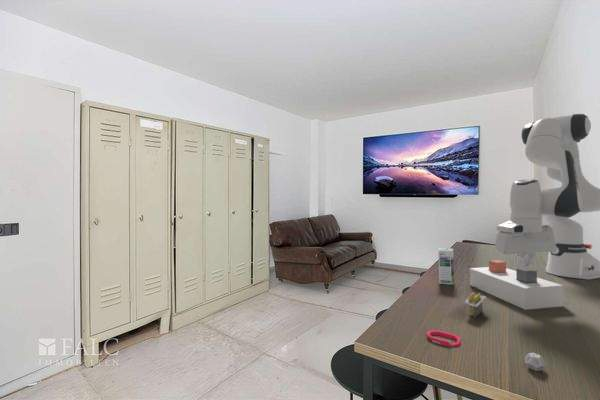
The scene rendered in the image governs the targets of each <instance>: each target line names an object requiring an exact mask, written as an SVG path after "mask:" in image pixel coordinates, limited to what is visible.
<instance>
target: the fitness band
mask: <svg viewBox="0 0 600 400" xmlns="http://www.w3.org/2000/svg"><path fill="white" fill-rule="evenodd" d="M426 336H427V338H428V339H429V340H431V342H432V343H435V344H438V345H441V346H446V347H454V348H455V347H459V346H460V345H461V338H460V337H459V336H458V335H456V334H453V333H450V332H446V331H441V330H429V331H427V332H426ZM435 336H440V337H445V338H449V339H451V340H455V341H456V342H455V343H451V341H450V340H447V339H446V340H445V339H443V338H438V337H435Z"/></svg>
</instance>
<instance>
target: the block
mask: <svg viewBox="0 0 600 400" xmlns="http://www.w3.org/2000/svg"><path fill="white" fill-rule="evenodd" d="M469 286H471V287H473V288H475V287H476V289H478V290H480V291H482V292H484V291H485V293H486V294H489V295H492V296H494V297H496V298H498V299H499V300H503V301H505V302H507V303H510V304H512V305H514V306H515V307H519V308H521V309H523V310H527V311H528V310H537V309H546V308H547V309H549V308H557V307H558V308H559V307H564V285H562V284H560V283H556V282H553V281H549V280H548V279H547V280H546V279H543V278H540V277H537V283H528V284H526V283H523V282H520V281H517V275H516V270H514V269H511V268H507V267H506V273H494V272H491V271H489V266H487V267H486V266H485V267H481V266H480V267H470V268H469Z"/></svg>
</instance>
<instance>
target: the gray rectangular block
mask: <svg viewBox="0 0 600 400" xmlns="http://www.w3.org/2000/svg"><path fill="white" fill-rule="evenodd" d="M515 271H516V275H517V281H520V282H523V283H526V284H528V283H537V278H538V274H537V273H538V271H537V270H535V269H531V268H528V267H522V268H521V267H520V268H516V269H515Z"/></svg>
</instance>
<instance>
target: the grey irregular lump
mask: <svg viewBox="0 0 600 400" xmlns="http://www.w3.org/2000/svg"><path fill="white" fill-rule="evenodd" d="M523 359H524V361H525V364H526V366H527V367H528V368H529V369H530V370H532V371H535V372H541V371H543V370H545V368H546V363H545V360H544V359H543V357H542V355H540V354H538V353H535V352H529V353H527V354H526V355H525V356H524V358H523Z"/></svg>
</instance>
